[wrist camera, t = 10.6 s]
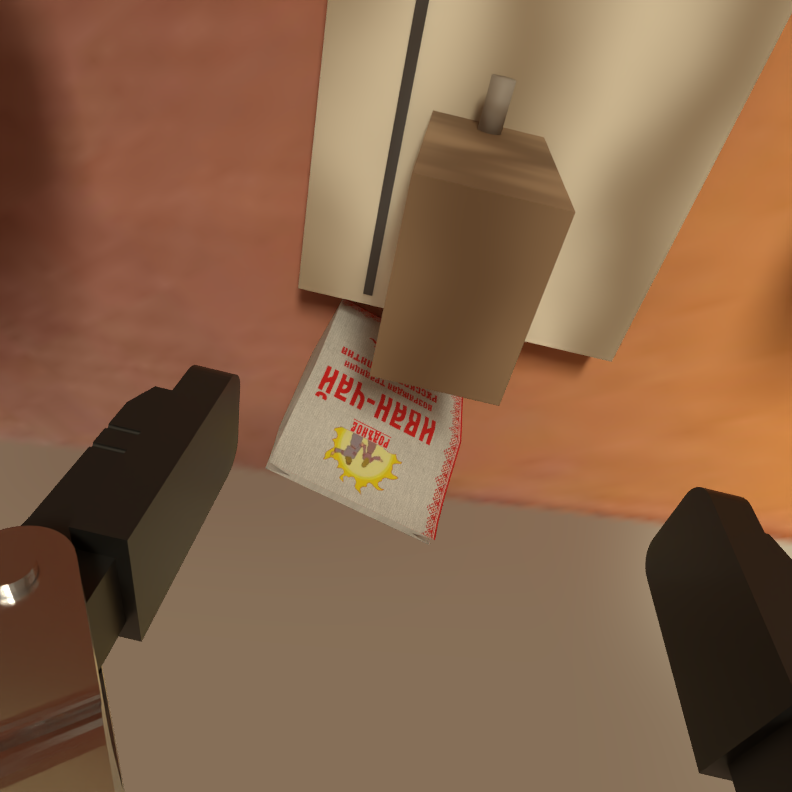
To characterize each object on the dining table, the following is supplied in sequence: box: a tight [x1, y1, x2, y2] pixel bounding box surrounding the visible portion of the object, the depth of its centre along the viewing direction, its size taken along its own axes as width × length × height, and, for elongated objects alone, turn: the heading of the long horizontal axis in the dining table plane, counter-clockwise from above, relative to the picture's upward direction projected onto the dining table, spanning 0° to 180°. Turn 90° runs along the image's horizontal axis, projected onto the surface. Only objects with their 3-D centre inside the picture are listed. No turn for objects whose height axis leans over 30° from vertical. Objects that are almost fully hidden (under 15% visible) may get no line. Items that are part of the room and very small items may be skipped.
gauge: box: [370, 74, 575, 406], centre depth 18 cm, size 4×8×8 cm, turn 169°
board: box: [298, 0, 792, 362], centre depth 19 cm, size 14×20×2 cm
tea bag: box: [266, 299, 463, 545], centre depth 25 cm, size 4×7×10 cm, turn 61°
